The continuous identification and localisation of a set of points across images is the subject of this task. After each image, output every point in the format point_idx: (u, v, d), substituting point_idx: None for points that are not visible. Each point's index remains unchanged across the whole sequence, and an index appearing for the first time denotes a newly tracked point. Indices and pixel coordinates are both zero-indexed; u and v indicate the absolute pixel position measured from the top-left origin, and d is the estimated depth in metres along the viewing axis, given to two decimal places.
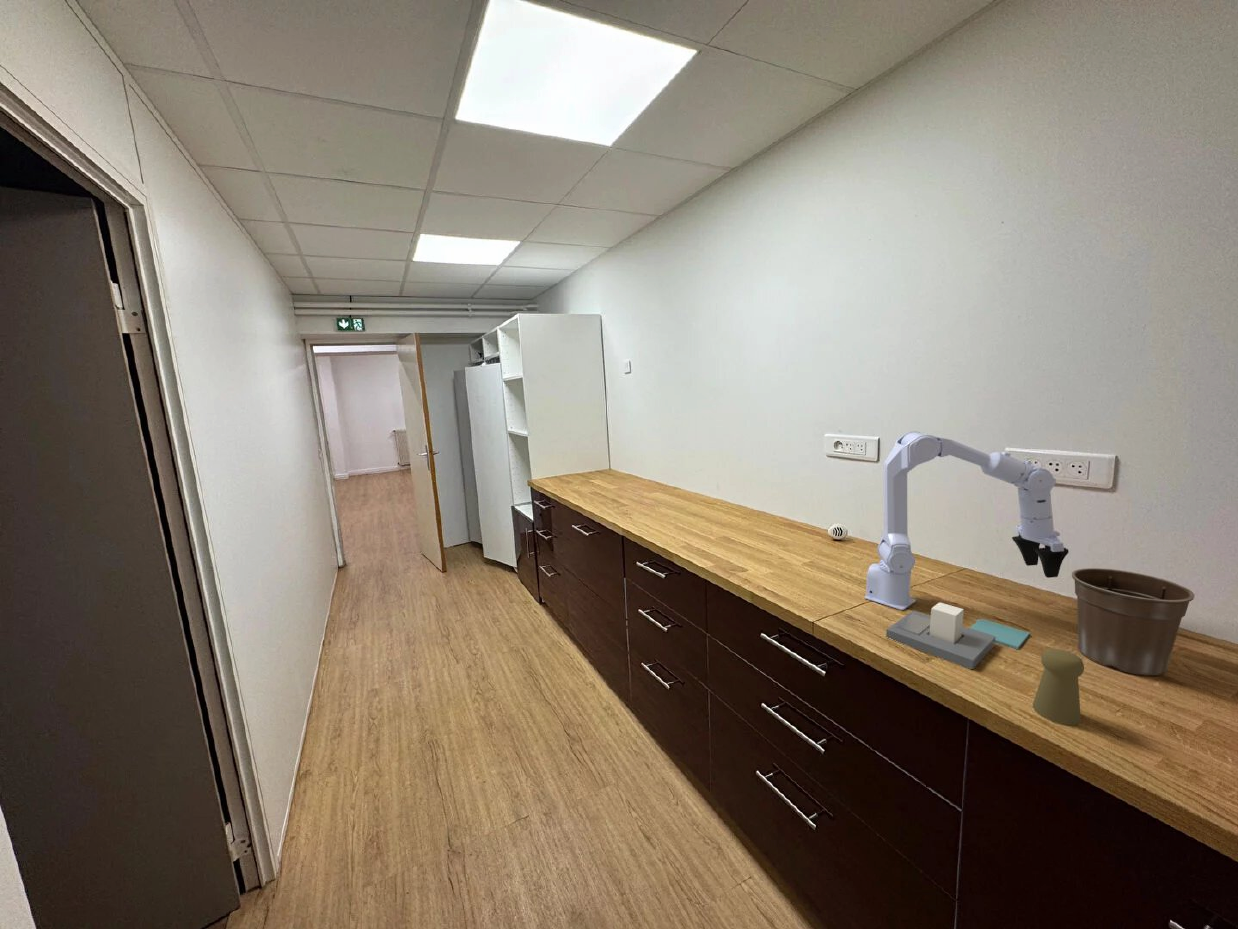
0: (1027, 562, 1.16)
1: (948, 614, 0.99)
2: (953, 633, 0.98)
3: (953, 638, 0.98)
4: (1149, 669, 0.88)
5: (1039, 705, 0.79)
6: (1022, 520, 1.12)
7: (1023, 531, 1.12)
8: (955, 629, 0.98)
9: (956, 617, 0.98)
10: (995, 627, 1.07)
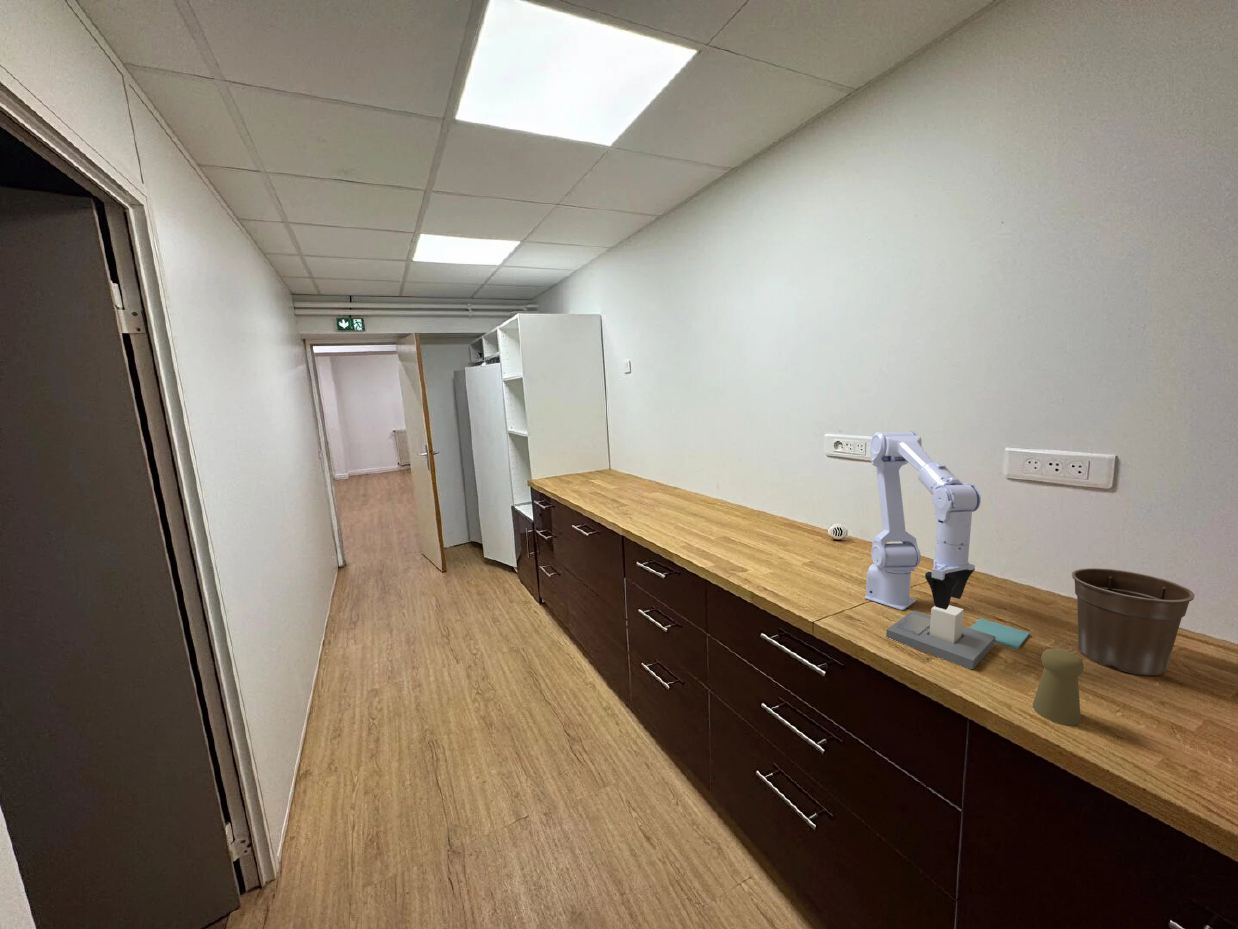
0: None
1: (948, 614, 0.99)
2: (953, 633, 0.98)
3: (953, 638, 0.98)
4: (1149, 669, 0.88)
5: (1039, 705, 0.79)
6: None
7: None
8: (955, 629, 0.98)
9: (956, 617, 0.98)
10: (995, 627, 1.07)
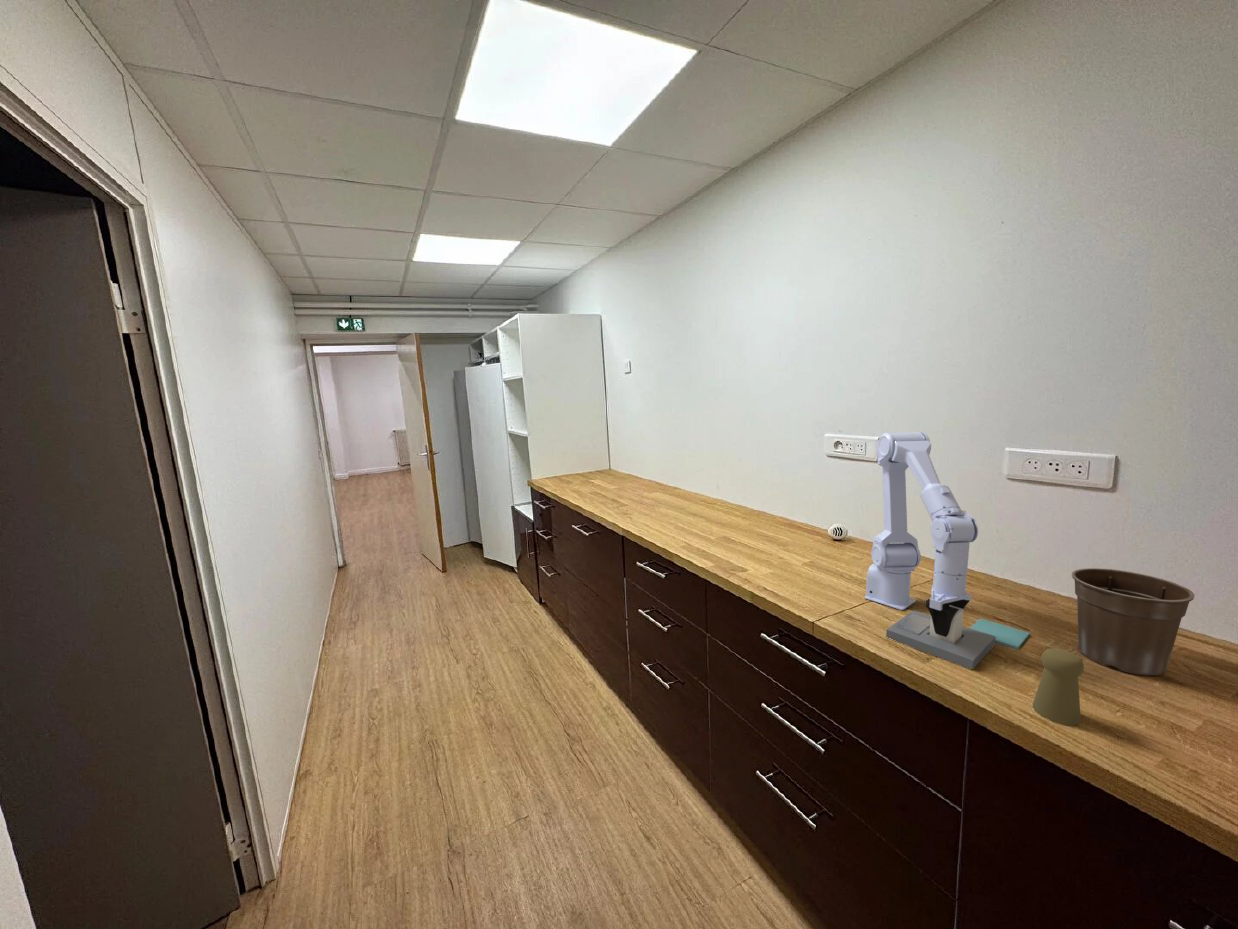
0: None
1: None
2: (953, 633, 0.98)
3: (953, 638, 0.98)
4: (1149, 669, 0.88)
5: (1039, 705, 0.79)
6: None
7: None
8: (955, 629, 0.98)
9: (956, 617, 0.98)
10: (995, 627, 1.07)
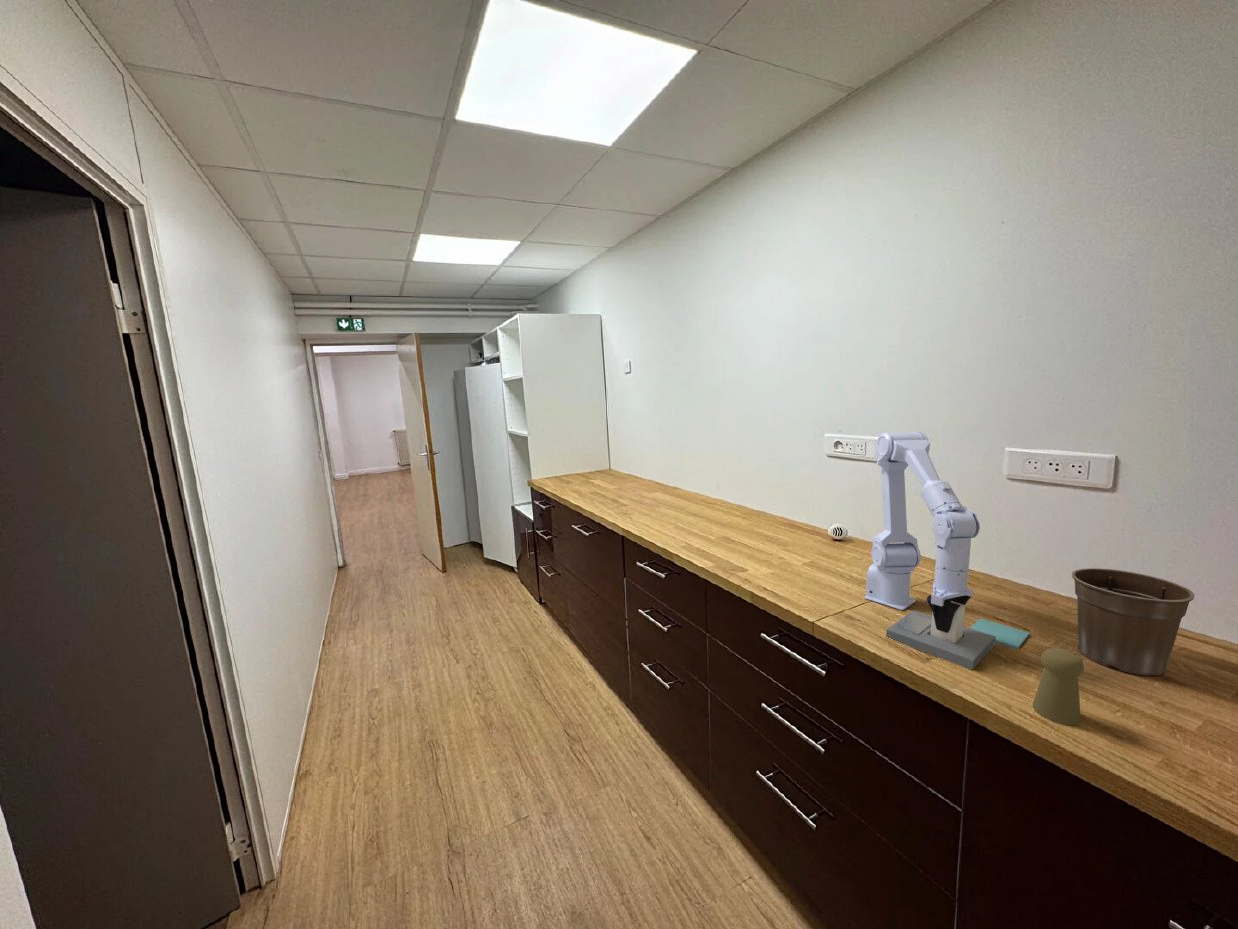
0: None
1: None
2: (955, 629, 0.98)
3: (955, 634, 0.98)
4: (1149, 669, 0.88)
5: (1039, 705, 0.79)
6: None
7: None
8: (957, 625, 0.98)
9: (958, 613, 0.98)
10: (995, 627, 1.07)
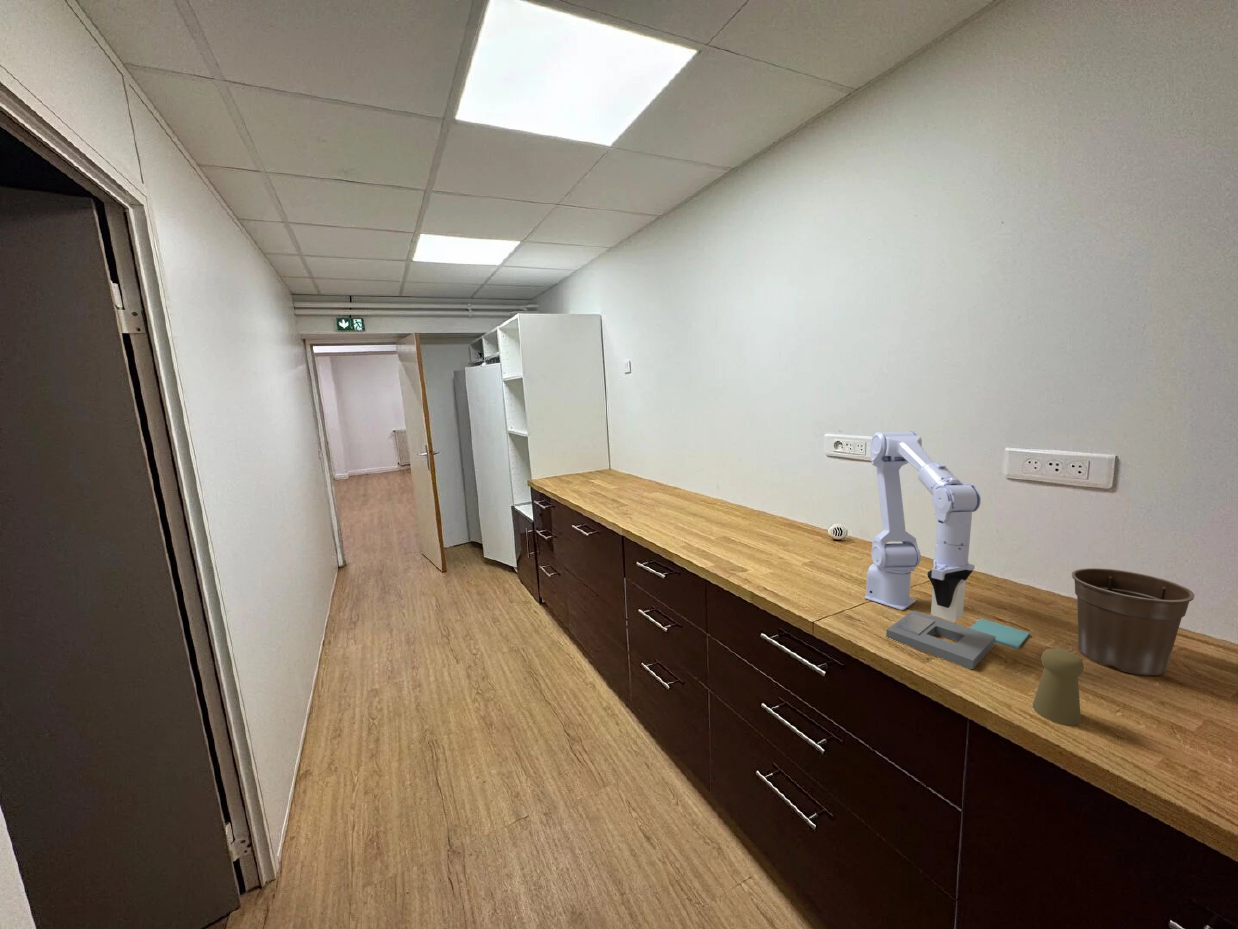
0: None
1: None
2: (955, 604, 0.97)
3: (955, 609, 0.97)
4: (1149, 669, 0.88)
5: (1039, 705, 0.79)
6: None
7: None
8: (957, 600, 0.97)
9: (958, 587, 0.97)
10: (995, 627, 1.07)
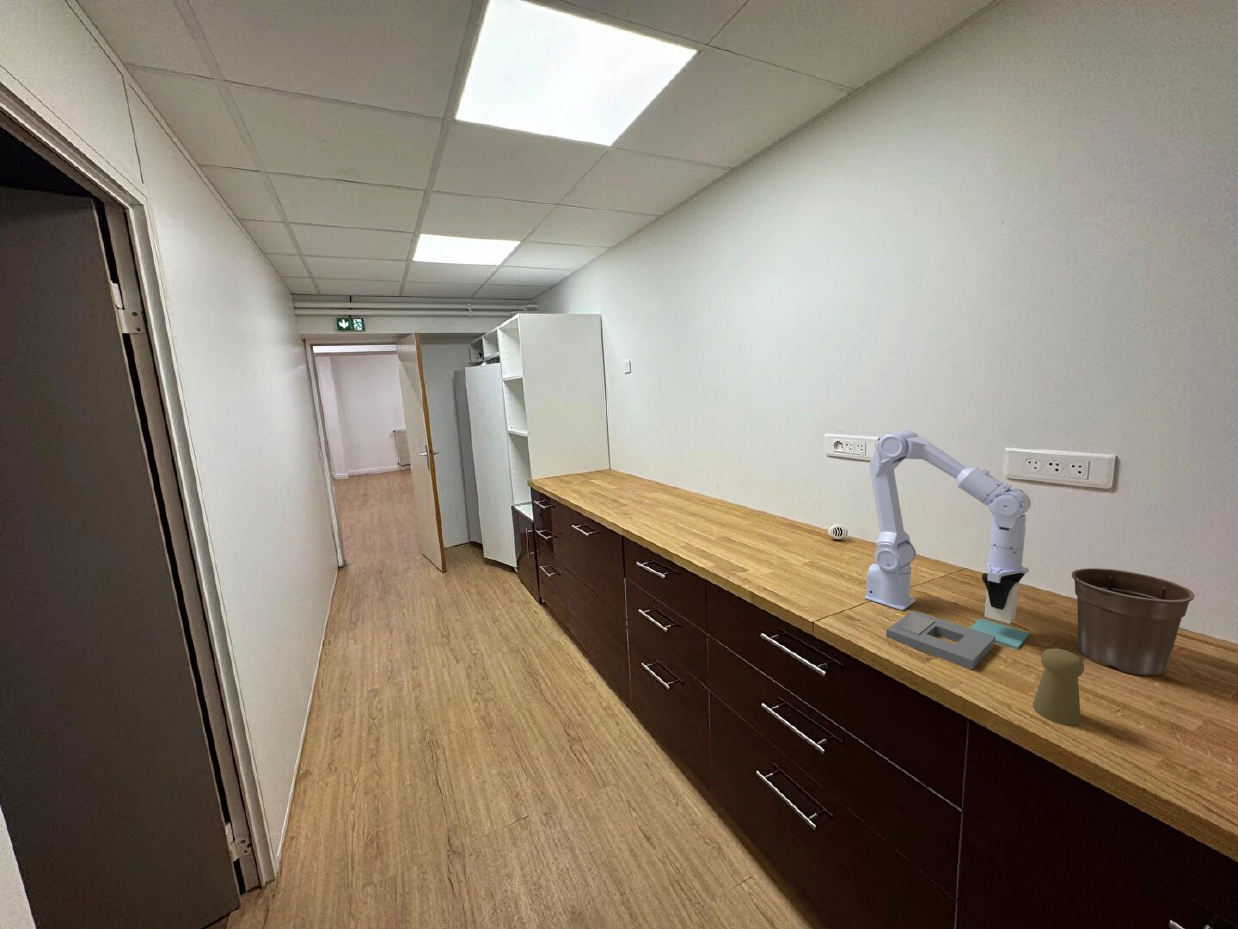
0: None
1: None
2: (1010, 606, 1.00)
3: (1010, 611, 1.01)
4: (1149, 669, 0.88)
5: (1039, 705, 0.79)
6: None
7: None
8: (1012, 602, 1.01)
9: (1013, 590, 1.00)
10: (995, 627, 1.07)
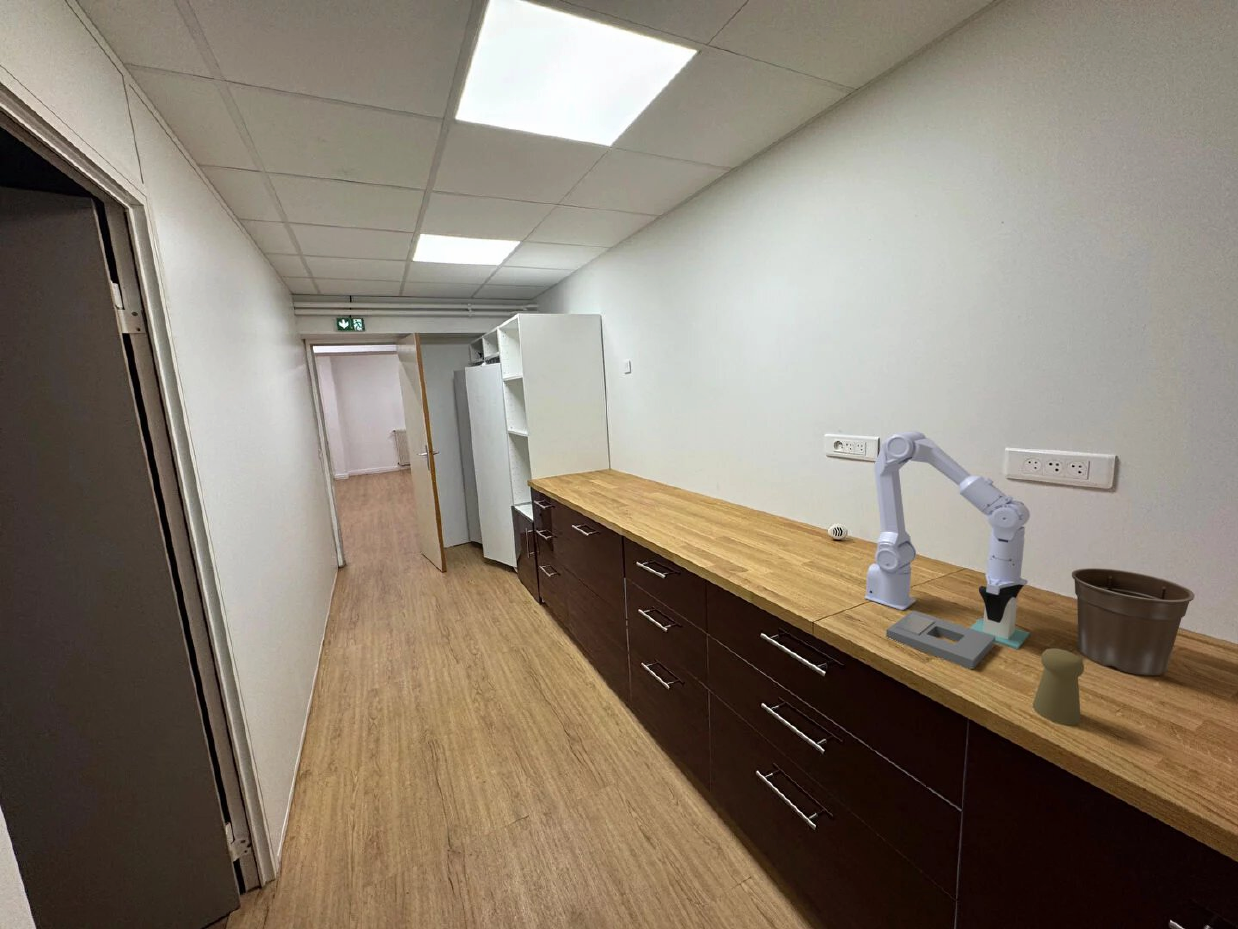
0: None
1: None
2: (1008, 621, 1.01)
3: (1008, 626, 1.01)
4: (1149, 669, 0.88)
5: (1039, 705, 0.79)
6: None
7: None
8: (1010, 617, 1.01)
9: (1011, 606, 1.01)
10: None
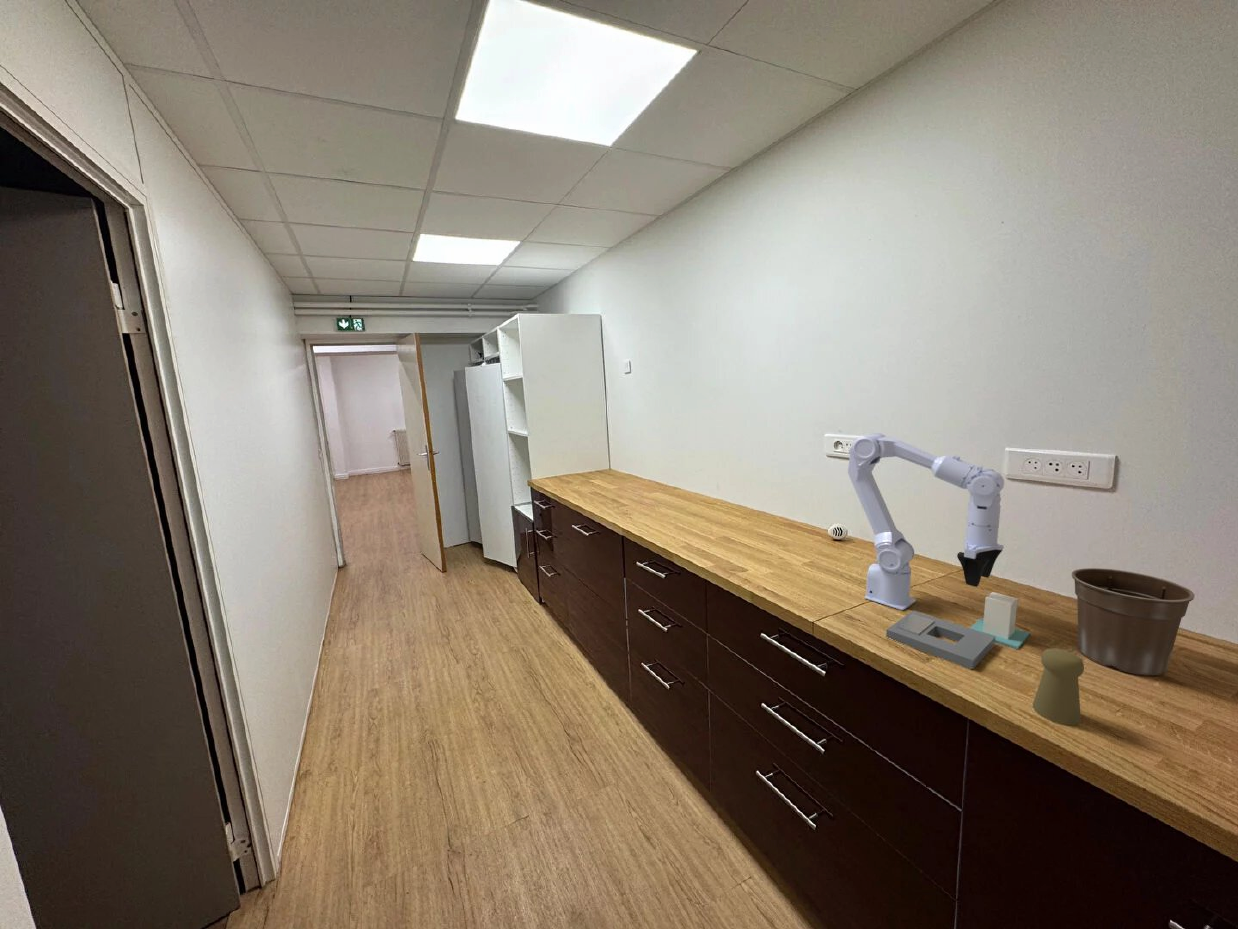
0: None
1: (1003, 603, 1.01)
2: (1008, 621, 1.01)
3: (1008, 626, 1.01)
4: (1149, 669, 0.88)
5: (1039, 705, 0.79)
6: None
7: None
8: (1010, 617, 1.01)
9: (1011, 606, 1.01)
10: None
